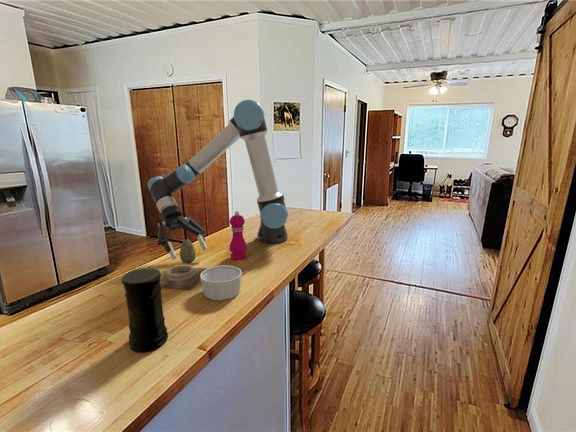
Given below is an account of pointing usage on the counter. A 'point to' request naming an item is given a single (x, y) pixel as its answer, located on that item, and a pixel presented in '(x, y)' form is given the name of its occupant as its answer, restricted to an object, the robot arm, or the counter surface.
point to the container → (145, 309)
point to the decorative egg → (187, 252)
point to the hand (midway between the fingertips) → (190, 253)
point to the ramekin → (221, 282)
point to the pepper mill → (237, 238)
